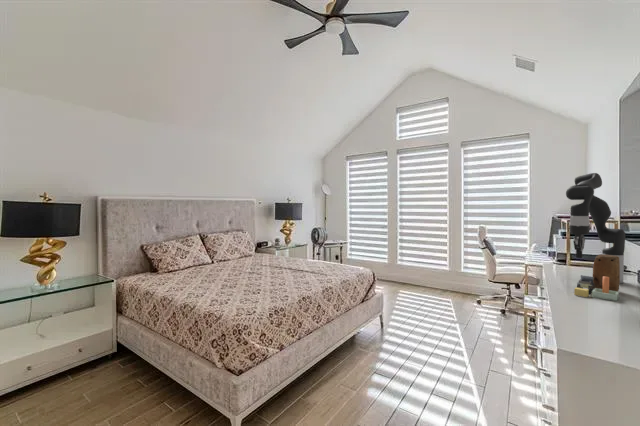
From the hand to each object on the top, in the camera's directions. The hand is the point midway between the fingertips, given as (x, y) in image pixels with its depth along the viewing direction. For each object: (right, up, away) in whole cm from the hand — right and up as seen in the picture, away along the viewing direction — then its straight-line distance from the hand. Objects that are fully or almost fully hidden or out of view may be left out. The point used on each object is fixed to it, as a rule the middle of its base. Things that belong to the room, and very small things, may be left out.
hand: (579, 257), depth 146 cm
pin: (+14, -20, +1) cm, 25 cm away
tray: (+14, -21, +1) cm, 25 cm away
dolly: (+14, -21, +11) cm, 27 cm away
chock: (+5, -21, +4) cm, 22 cm away
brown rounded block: (+26, -21, +12) cm, 35 cm away
